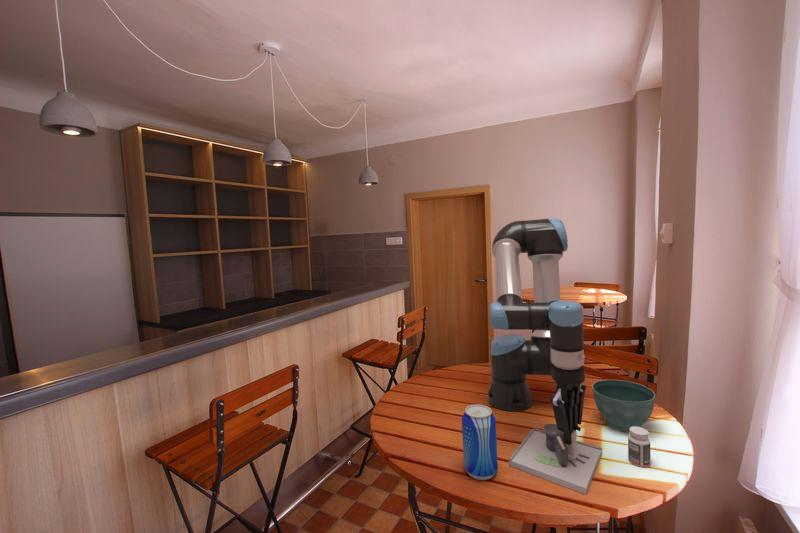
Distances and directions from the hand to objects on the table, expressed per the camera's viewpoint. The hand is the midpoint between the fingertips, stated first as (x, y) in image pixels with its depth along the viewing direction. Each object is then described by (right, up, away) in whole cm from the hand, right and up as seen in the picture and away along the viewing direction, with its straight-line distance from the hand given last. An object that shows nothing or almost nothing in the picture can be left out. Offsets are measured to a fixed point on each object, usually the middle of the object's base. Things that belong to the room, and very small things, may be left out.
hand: (570, 454), depth 90 cm
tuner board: (-2, -3, +3) cm, 5 cm away
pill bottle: (+18, -2, 0) cm, 18 cm away
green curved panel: (-2, -2, +1) cm, 3 cm away
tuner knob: (-2, -1, +3) cm, 4 cm away
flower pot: (+24, -1, +18) cm, 30 cm away
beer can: (-23, -5, 0) cm, 23 cm away
